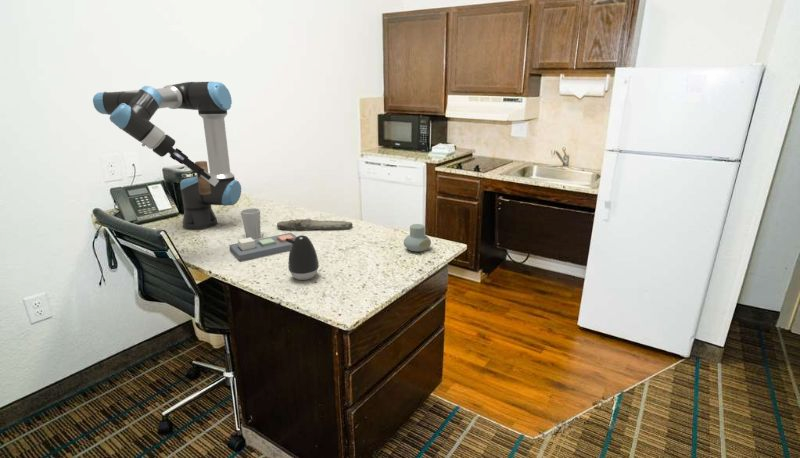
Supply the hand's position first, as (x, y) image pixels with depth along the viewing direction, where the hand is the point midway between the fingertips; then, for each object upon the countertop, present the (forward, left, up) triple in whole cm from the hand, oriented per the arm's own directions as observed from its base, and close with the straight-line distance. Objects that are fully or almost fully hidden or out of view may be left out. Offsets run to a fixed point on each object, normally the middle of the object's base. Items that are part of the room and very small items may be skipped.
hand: (215, 182), depth 164 cm
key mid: (+8, +15, -28) cm, 32 cm away
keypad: (+8, +15, -28) cm, 33 cm away
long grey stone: (-6, +42, -29) cm, 51 cm away
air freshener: (+44, +64, -28) cm, 83 cm away
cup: (-10, +15, -28) cm, 33 cm away
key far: (+8, +23, -28) cm, 37 cm away
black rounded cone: (+42, +16, -28) cm, 53 cm away
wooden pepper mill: (0, -4, -4) cm, 6 cm away
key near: (+8, +7, -26) cm, 28 cm away
